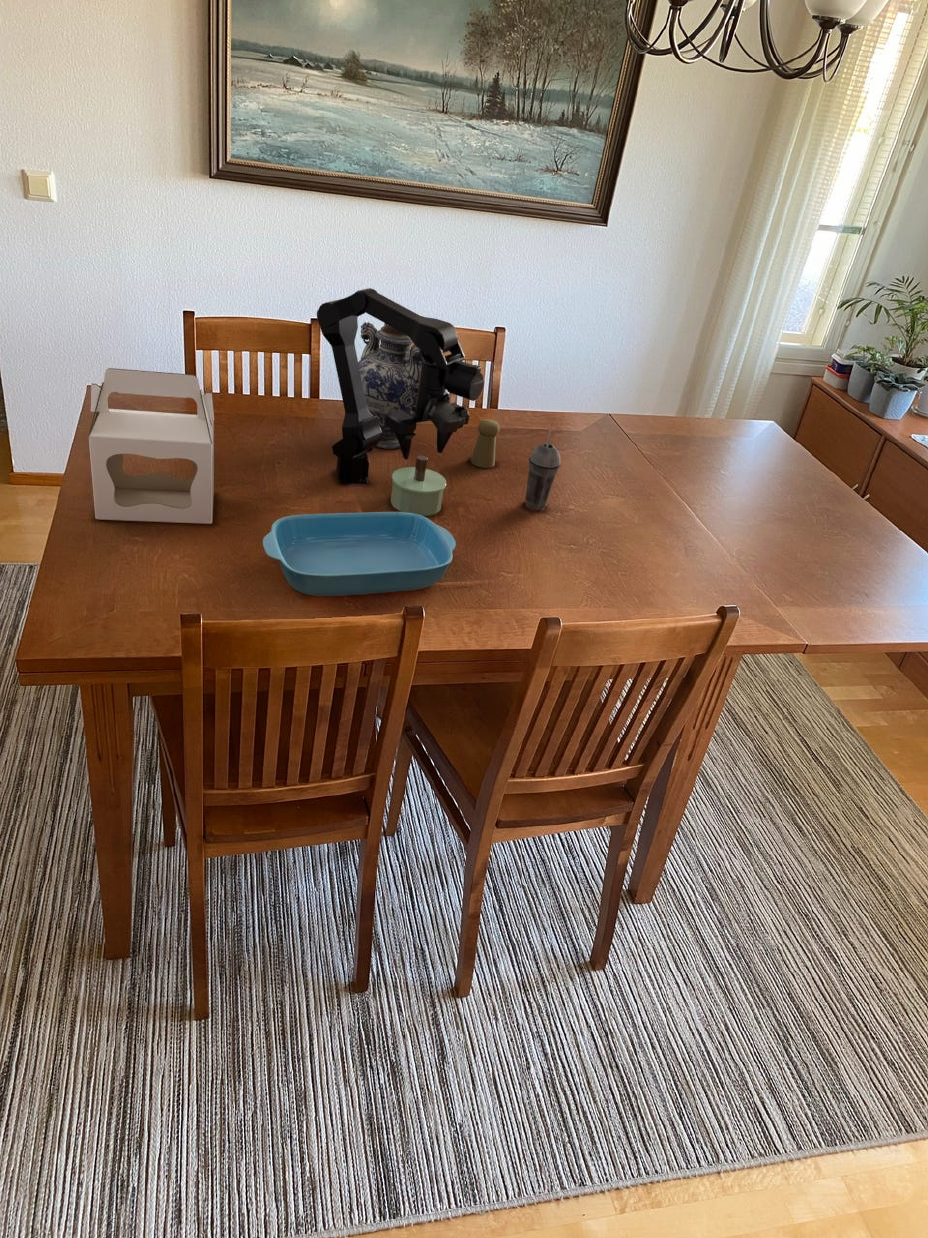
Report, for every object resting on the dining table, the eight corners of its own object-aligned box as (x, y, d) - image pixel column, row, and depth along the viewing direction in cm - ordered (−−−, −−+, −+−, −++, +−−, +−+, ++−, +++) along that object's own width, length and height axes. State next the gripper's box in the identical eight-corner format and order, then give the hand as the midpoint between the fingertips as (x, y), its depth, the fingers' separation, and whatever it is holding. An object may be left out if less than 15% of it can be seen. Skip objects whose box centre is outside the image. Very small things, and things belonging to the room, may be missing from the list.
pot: (398, 518, 192) (401, 493, 189) (384, 494, 200) (387, 470, 197) (447, 517, 196) (451, 492, 193) (431, 493, 205) (435, 469, 201)
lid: (400, 496, 189) (403, 470, 185) (385, 471, 198) (388, 445, 194) (453, 496, 193) (457, 470, 190) (435, 471, 202) (439, 446, 199)
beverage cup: (554, 506, 209) (573, 426, 198) (543, 518, 203) (562, 436, 192) (525, 497, 211) (543, 417, 200) (514, 507, 205) (531, 426, 194)
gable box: (214, 494, 188) (215, 364, 173) (213, 524, 178) (213, 389, 162) (102, 488, 183) (92, 354, 167) (93, 519, 172) (82, 379, 157)
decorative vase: (328, 434, 223) (336, 322, 208) (375, 418, 237) (387, 311, 221) (394, 464, 214) (408, 349, 199) (439, 446, 228) (456, 337, 213)
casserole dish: (273, 610, 157) (275, 575, 153) (252, 545, 173) (253, 513, 169) (467, 597, 170) (473, 565, 166) (430, 539, 187) (435, 508, 183)
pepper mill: (485, 469, 220) (492, 428, 214) (465, 460, 223) (473, 419, 217) (499, 463, 225) (507, 422, 218) (480, 455, 227) (487, 414, 221)
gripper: (420, 405, 173) (410, 478, 182) (491, 394, 184) (479, 464, 193) (386, 384, 180) (379, 456, 188) (457, 376, 191) (447, 443, 199)
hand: (422, 455), depth 192 cm, fingers open, 9 cm apart
